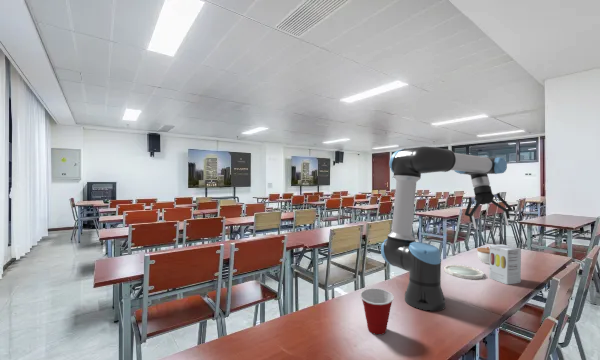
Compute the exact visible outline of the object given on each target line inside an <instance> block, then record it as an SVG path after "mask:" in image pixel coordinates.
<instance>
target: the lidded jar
mask: <svg viewBox="0 0 600 360" xmlns="http://www.w3.org/2000/svg"><path fill="white" fill-rule="evenodd" d="M476 249H477V250H476V251H477V252H476V253H477V254H476V255H477V258H478V259H479V260H480V262H481V263H483V264H486V265H489V264H490V246H486V247H477V248H476Z"/></svg>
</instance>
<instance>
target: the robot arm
mask: <svg viewBox="0 0 600 360" xmlns="http://www.w3.org/2000/svg"><path fill="white" fill-rule="evenodd" d="M388 164H389V165H388V166H389V168H390V171H391V172H392V173H393V178H394V179H395V180H396V183H395V190H394V191H395V193H394V202H393V203H394V205H393V213H392V224H391V232H390V233H388V234H387V238H386V239H384V240H383V242H382V243H381V246H380V253H381V257H382V258H383V260H384V262H386V263H387V264H389V265H390V266H393V267H396V268H399V269H401V270H404V271H407V272H409V273H408V277H409V278H408V279H409V281H408V284H407V287H406V291H405V292H404V301H405V303H406V304H407V305H409V306H411V307H413V308H415V307H416V309H418V308H419V310H422V309H423V311H427V310H430V311H429V312H436V310H439V311H442V310H441V309H443V308H444V309H445V308H446V299H445V295H444V292H443V289H442V287H441V286H442V285H441V283H442V282H441V281H442V280H441V279H442V278H441V276H442V273H441V272H442V268H441V267H442V257H441V256H442V255H441V250H440V249H439V248H438V247H437V246H435V245H433V244H430V243H427V242H422V241H415V240H416V239H415V237H414V236H413V235H412V232H413V221H414V212H415V203H416V201H415V200H416V191H417V182H418V181H420V179H421V176H422V174H430V173H440V172H443V173H446V172H450V171H454V172H455V173H457V174H460V175H467V176H468V175H469V176H470V180H471V183H472V187H473V192H474V197H470V196H469V197H468V202H467V206H466V208H465V213H464V215H465V216H466V217H469V221H470V223H472V225H473V228H474V230H477V228H478V227H477V223H476V219H475V216H474V214H475V212H476V211H477V209H478V208H479V207H480V205H490V204H491V203H492V205H494V206H496V207H498V209H500V210H502V211H504V212H503V216H504V220H505V223H506V226H507V227H510V224H509V220H510V219H511V216H510V212H512V211H513V208H512V207H511V206H510V204H509V203H508V202H507V201H506V200H505V199H504V198H503V197H502V196H501V194H500V192H497V193H495V194H493V192H492V188H491V187H492V186H490V185H491V182H490V179H489V176H488V175H490V174H491V175H492V174H493V175H497V174H504V173H506V171H507V168H508V163H507V160H506V159H505V158H504V157H489V156H488V157H487V156H480V155H472V154H465V153H459V152H458V153H457V152H454V151H453V150H451V149H447V148H439V147H435V146H424V145H423V146H417V147H408V148H406V147H405V148H402V149H398V150H396V151H395V152H393V153H392V154H391V156H390V159H389V163H388ZM494 198H497V199H498V200H499V201H500V202H501V203H502V204H503V205H504V206H505V207H504V206H502V205H501V204H499V203H498V202H497V201H495V200H494ZM474 201H476V203H475V205H474V206H473V207H472V204H473V202H474ZM471 207H472V209H471ZM508 219H509V220H508ZM444 309H443V310H444Z"/></svg>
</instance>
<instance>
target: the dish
mask: <svg viewBox="0 0 600 360" xmlns="http://www.w3.org/2000/svg"><path fill="white" fill-rule="evenodd" d="M443 269H444V272H445V274H448V275H449V276H452V277H455V278H461V279H465V280H466V279H467V280H481V279H483V278H484V274H485V273H484V272H483V271H482V270H481V269H478V268H476V267H472V266H467V265H463V264H447V265H445V266H444V267H443Z"/></svg>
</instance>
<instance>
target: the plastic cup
mask: <svg viewBox="0 0 600 360" xmlns="http://www.w3.org/2000/svg"><path fill="white" fill-rule="evenodd" d="M359 294H360V295H359V296H360V299H361V301H362V304H363V309H364V314H365V320H366V325H367V330H368V331H369V332H370V333H371V332H372V333H371V334H373V333H375V334H374V335H377V334H381V335H384V334H385V333H386V332H387V329H388V323H389V320H390V313H391V307H392V303H393V300H394V298H395V297H394V294H393V293H392V292H390V291H388V290H386V289H383V288H380V287H379V288H376V287H374V288H373V287H372V288H366V289H364V290H362V291H361V292H360V293H359ZM385 331H386V332H385ZM383 333H384V334H383Z"/></svg>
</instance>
